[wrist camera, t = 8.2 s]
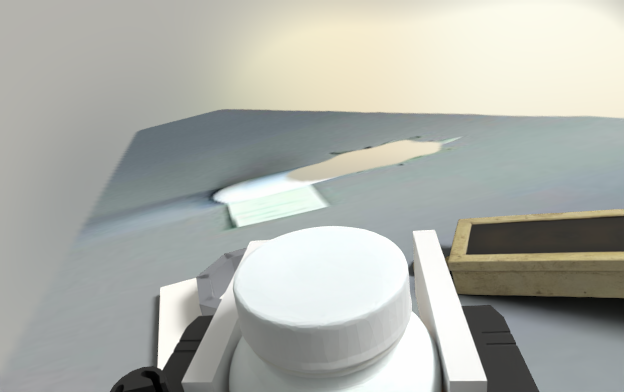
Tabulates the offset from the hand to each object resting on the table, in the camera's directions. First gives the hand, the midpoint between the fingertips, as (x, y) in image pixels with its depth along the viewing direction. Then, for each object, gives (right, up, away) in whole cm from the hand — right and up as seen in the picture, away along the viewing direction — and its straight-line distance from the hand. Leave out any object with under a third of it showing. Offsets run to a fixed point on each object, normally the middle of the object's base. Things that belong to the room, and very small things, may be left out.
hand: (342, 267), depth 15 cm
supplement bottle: (0, -8, -2) cm, 8 cm away
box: (+19, -4, +17) cm, 25 cm away
